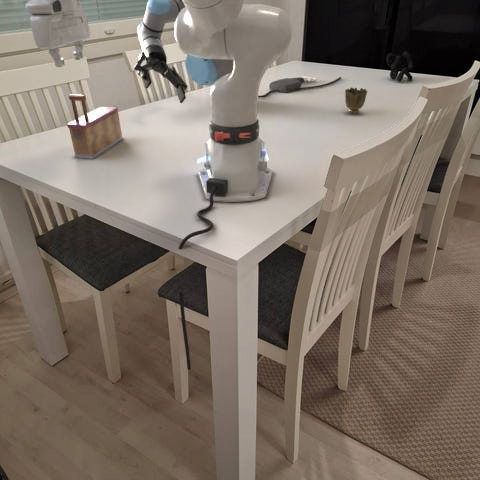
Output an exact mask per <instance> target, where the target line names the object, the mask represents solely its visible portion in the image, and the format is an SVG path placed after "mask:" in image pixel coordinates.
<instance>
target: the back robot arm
mask: <svg viewBox="0 0 480 480" xmlns="http://www.w3.org/2000/svg"><path fill="white" fill-rule="evenodd" d="M183 8H185V5H184V3H183V2H182V0H148V1H147V3H146V8H145V12H144V15H143V19H142V21H141V22H140V23H139V24H138V26H137V29H136V31H137V38H138V41H139V44H140V48H141V53H140V54H139V56H138V61H137V62H136V64H135V65H134V67H133V70H134V71H135V72H137V75H138V76H139V77H141V79H142V80H143V85H144V87H145V89H149V87H150V86H151V84H152V77H151V75H150V71H154V72H155V73H158V74H160V75H161V76H162V77H163V78H164V79H165V78H166V79H167V81H168V82H170V83H171V85H172V86H173V87H174V88H175V89H176V90H175V92H176V94H177V98H178V101H179V103H180V104H183V102H184V101H185V100H186V99H187V96H186V91H187V89H188V85H187V83H186V82H185V81H184V79H183V78H182V77H181V75H180V74H179V73H178V72H177V69H176V68H175V67H174V66H171V67H169V65H168V63H167V62H168V58H167V55H166V51H165V47H164V44H163V42H162V39H161V38H162V34H163V31H164V28H165V25H166V24H168V23H175V21H176V18H177V16H178V14H179V13H180V11H181V10H182V9H183ZM143 62H145V64H144V65H142V64H143ZM233 67H234V60H227V59H203V58H199V57H195V56H191V55H187V54H186V57H185V69H186V72H187V74H188V76H189V77H190V79H191V80H192V81H193V82H194V83H196V84H197V85H199V86H208V85H209V86H210V85H211V86H212V85H213V84H214V82H215V81H217V80H218V79H220V78H221V77H223V76H225V75H227V74H229V73H231V72H232V71H233ZM339 80H342V76H339V77H338V78H336V79H334V80H332V81H329V82H327V83H324V84H323V83H322V84H318V85H313V86H306V87H305V86H304V87H300V88H296V89H295V90H294V91H299V90H300V91H301V90H309V89H317V88H321V87H326V86H329V85H332V84H335V83H336V82H338V81H339ZM278 92H279V90H270V91H267V92H266V93H265V94H263V95H258V99H259V98H265V97H267V96H268V95H270V94H272V93H278Z"/></svg>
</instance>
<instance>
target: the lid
mask: <svg viewBox="0 0 480 480" xmlns="http://www.w3.org/2000/svg"><path fill="white" fill-rule="evenodd" d="M68 99H69V100H70V103H71V107H72V111H73V116H74V120H71V121H70V122H68V123H66V126H67V128H68V129H69V128H78V129H86V128H88V127H90V126H92V125H94V124H95V123H97V122H99V121H101V120H103V119H105V118H106V117H108V116H110V115H112V114H114V113H115V112H117V111H118V112H119V109H118V107H114V106H113V107H112V106H100V107H98V108H95V109H93V110H92V111H89V112H88V109H87V105H86V100H87V97H86V95H85V94H74V93H73V94H71V93H70V94H69V95H68ZM76 102H81V107H82V111H83V115H82V116H80V117H79V114H78V110H77V105H76Z"/></svg>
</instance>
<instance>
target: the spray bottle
mask: <svg viewBox="0 0 480 480" xmlns="http://www.w3.org/2000/svg"><path fill="white" fill-rule="evenodd" d="M312 81H315V82H316V81H317V78H316V77H313V76H304V75H301V76H300V77H286V78H280V79H277V80H274V81H271V82H270V83H269V85H268V87H269V90H270V91H273V90H279V92H280V93H290V92H293V91H296V90H295V89H296V88H302V83H304V82H312Z"/></svg>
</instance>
